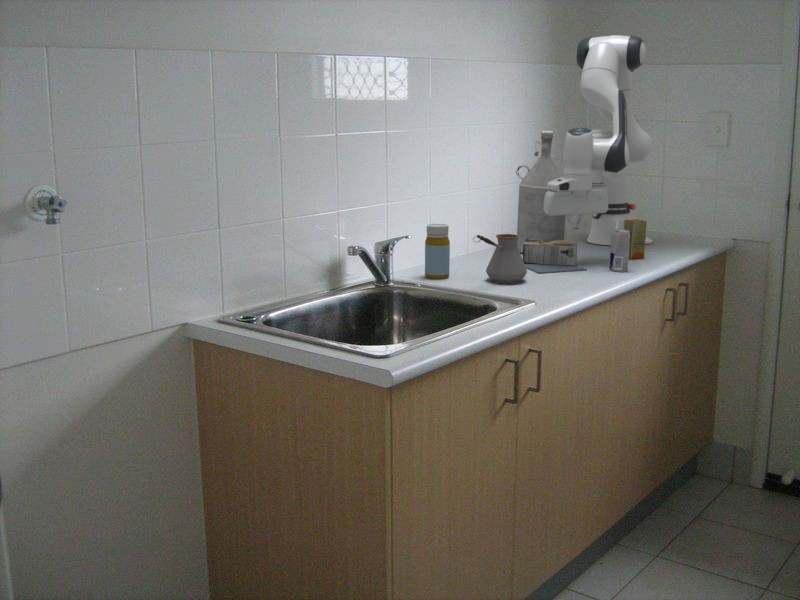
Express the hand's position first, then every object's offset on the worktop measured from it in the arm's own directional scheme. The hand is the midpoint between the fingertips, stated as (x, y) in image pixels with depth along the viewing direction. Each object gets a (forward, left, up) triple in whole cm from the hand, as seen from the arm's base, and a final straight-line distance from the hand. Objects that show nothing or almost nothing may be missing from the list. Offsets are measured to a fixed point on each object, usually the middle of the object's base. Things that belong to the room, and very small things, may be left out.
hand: (575, 228), depth 269 cm
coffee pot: (+33, +17, -12) cm, 39 cm away
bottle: (+46, +4, -12) cm, 47 cm away
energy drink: (-9, +11, -12) cm, 18 cm away
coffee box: (-1, -1, -8) cm, 8 cm away
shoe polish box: (-24, -6, -12) cm, 27 cm away
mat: (+8, 0, -11) cm, 14 cm away
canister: (+1, -23, -12) cm, 25 cm away
